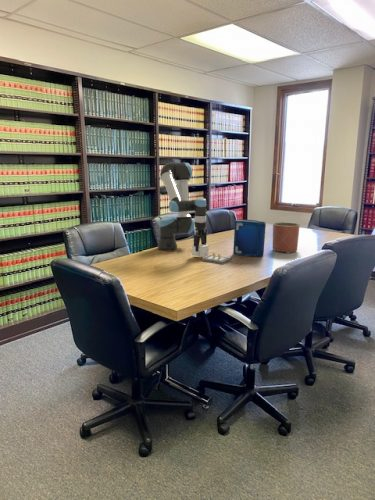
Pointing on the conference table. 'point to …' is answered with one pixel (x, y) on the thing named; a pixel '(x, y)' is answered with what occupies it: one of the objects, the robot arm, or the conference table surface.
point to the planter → (285, 236)
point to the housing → (202, 250)
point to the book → (249, 238)
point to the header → (216, 259)
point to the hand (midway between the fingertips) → (200, 254)
